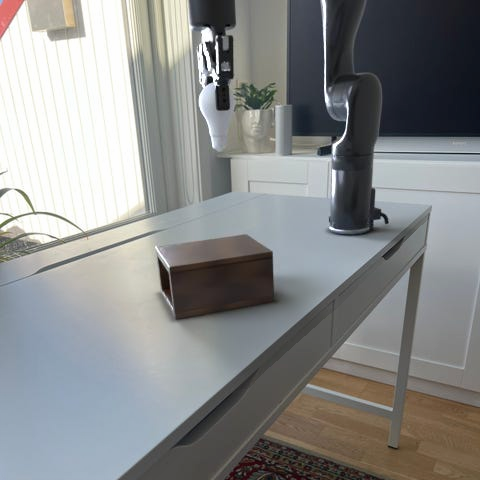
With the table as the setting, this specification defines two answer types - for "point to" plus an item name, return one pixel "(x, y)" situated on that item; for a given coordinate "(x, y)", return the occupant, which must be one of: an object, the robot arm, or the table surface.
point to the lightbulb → (216, 116)
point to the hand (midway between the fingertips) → (217, 110)
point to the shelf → (215, 275)
